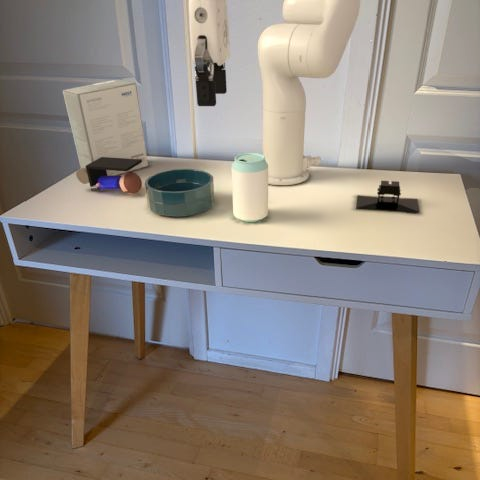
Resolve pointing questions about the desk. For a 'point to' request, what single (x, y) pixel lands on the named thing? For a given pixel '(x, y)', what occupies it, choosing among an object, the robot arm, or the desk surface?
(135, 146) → the hard drive box
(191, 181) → the bowl
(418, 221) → the desk surface
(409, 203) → the build plate
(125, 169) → the figurine character
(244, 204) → the can
